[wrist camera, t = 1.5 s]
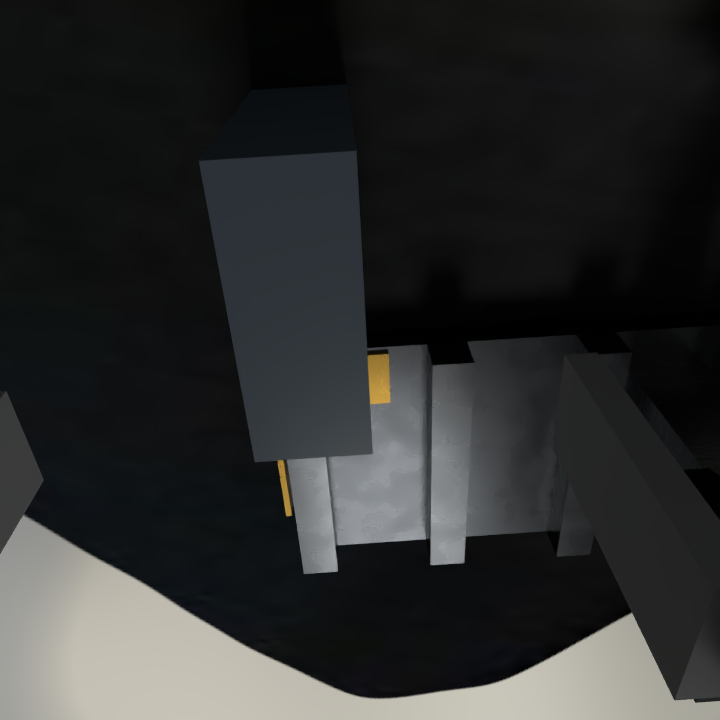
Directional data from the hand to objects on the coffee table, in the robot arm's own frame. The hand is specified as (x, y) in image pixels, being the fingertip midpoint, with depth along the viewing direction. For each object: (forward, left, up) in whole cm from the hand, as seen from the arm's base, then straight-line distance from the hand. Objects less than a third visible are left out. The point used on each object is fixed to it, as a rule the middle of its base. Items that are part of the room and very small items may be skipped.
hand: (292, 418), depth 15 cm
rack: (+14, +10, -16) cm, 23 cm away
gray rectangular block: (0, 0, -16) cm, 16 cm away
